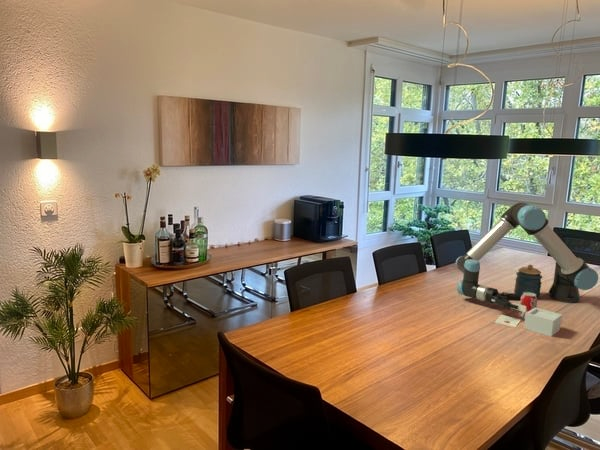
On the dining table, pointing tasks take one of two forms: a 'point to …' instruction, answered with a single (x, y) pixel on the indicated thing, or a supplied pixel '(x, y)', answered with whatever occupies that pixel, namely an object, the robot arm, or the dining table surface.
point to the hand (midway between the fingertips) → (531, 306)
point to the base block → (542, 321)
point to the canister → (528, 281)
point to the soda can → (528, 302)
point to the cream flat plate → (508, 321)
